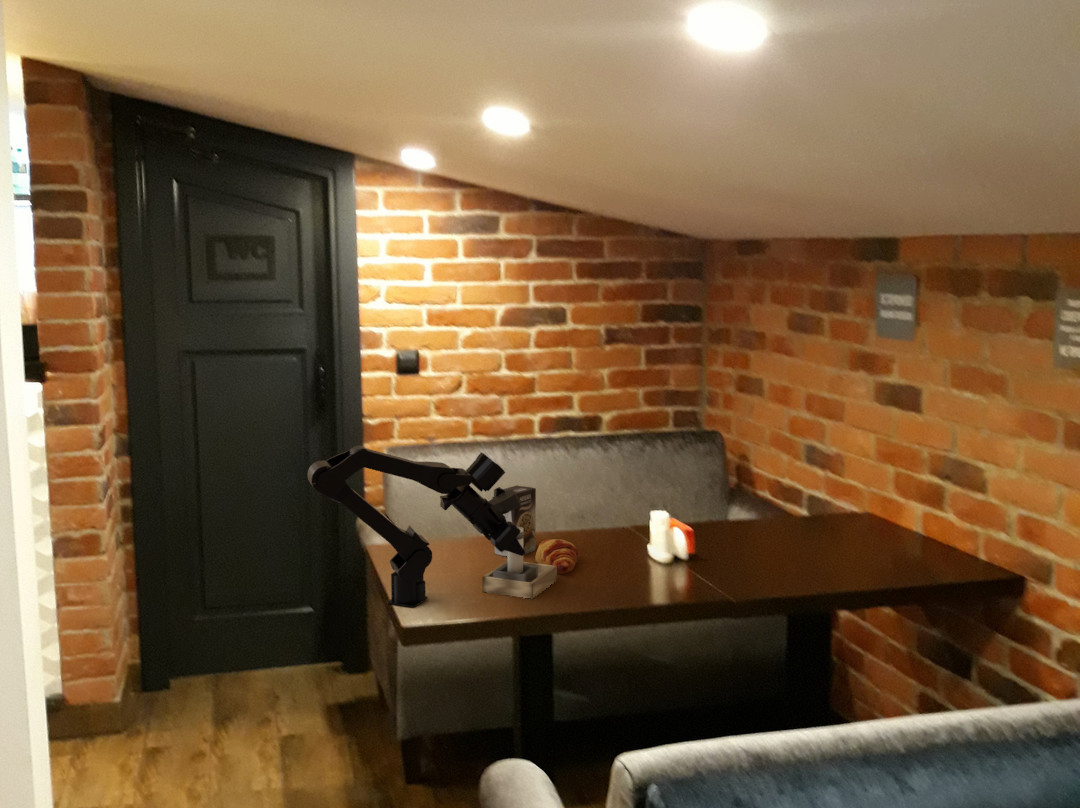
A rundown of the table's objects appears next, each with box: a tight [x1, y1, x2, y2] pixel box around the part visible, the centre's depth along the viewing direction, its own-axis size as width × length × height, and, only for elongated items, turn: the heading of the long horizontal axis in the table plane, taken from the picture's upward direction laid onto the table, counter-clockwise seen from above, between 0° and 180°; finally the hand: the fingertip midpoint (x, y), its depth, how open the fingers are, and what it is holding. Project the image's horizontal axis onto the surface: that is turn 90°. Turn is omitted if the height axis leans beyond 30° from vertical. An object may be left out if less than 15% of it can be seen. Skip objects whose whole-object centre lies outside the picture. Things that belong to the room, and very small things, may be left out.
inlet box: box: [481, 560, 558, 600], centre depth 240 cm, size 12×14×5 cm
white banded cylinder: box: [507, 526, 524, 574], centre depth 237 cm, size 4×4×12 cm
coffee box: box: [494, 484, 537, 558], centre depth 265 cm, size 9×6×16 cm
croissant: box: [534, 538, 579, 575], centre depth 256 cm, size 21×10×8 cm, turn 12°
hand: (521, 551), depth 237 cm, fingers closed on white banded cylinder, 3 cm apart
